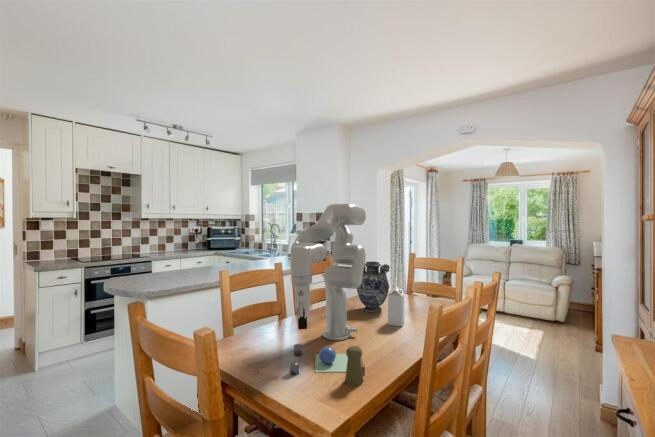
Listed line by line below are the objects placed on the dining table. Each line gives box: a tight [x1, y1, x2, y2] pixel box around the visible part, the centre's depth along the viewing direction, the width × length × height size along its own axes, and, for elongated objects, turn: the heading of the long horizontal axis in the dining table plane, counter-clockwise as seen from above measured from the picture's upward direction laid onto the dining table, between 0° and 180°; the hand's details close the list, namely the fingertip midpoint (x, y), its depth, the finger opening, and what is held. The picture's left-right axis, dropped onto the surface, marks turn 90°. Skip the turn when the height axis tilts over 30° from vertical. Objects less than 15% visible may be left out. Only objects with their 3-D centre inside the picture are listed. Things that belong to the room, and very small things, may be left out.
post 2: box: [289, 360, 300, 377], centre depth 106 cm, size 3×3×4 cm
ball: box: [319, 346, 337, 364], centre depth 113 cm, size 6×6×6 cm
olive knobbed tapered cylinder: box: [344, 345, 364, 387], centre depth 101 cm, size 6×6×11 cm
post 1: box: [293, 343, 303, 357], centre depth 121 cm, size 3×3×4 cm
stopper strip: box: [357, 345, 366, 376], centre depth 114 cm, size 2×18×2 cm, turn 1°
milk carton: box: [387, 285, 405, 327], centre depth 157 cm, size 7×7×19 cm
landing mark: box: [314, 353, 348, 373], centre depth 114 cm, size 14×14×1 cm
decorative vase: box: [356, 261, 391, 314], centre depth 180 cm, size 21×19×28 cm
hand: (302, 328), depth 114 cm, fingers closed
